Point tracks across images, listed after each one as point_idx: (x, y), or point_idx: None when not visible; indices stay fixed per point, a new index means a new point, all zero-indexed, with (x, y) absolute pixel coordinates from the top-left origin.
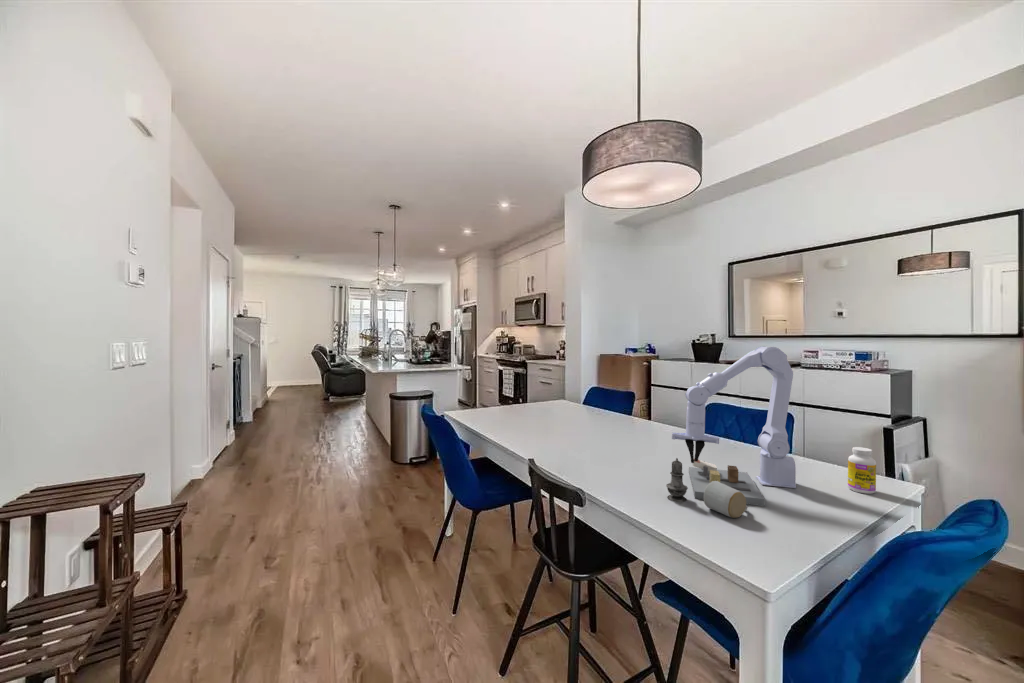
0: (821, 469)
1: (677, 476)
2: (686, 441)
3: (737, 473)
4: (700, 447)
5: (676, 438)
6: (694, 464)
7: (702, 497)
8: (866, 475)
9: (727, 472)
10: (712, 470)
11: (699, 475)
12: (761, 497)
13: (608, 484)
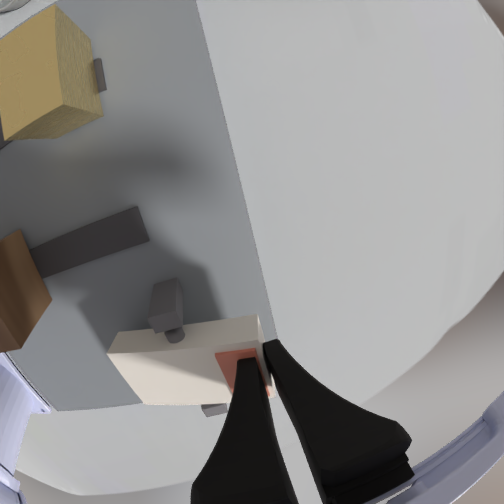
0: (29, 468)
1: None
2: (400, 462)
3: None
4: (230, 468)
5: (474, 428)
6: (251, 324)
7: None
8: None
9: (100, 386)
10: (41, 116)
11: (200, 263)
12: None
13: (478, 49)
